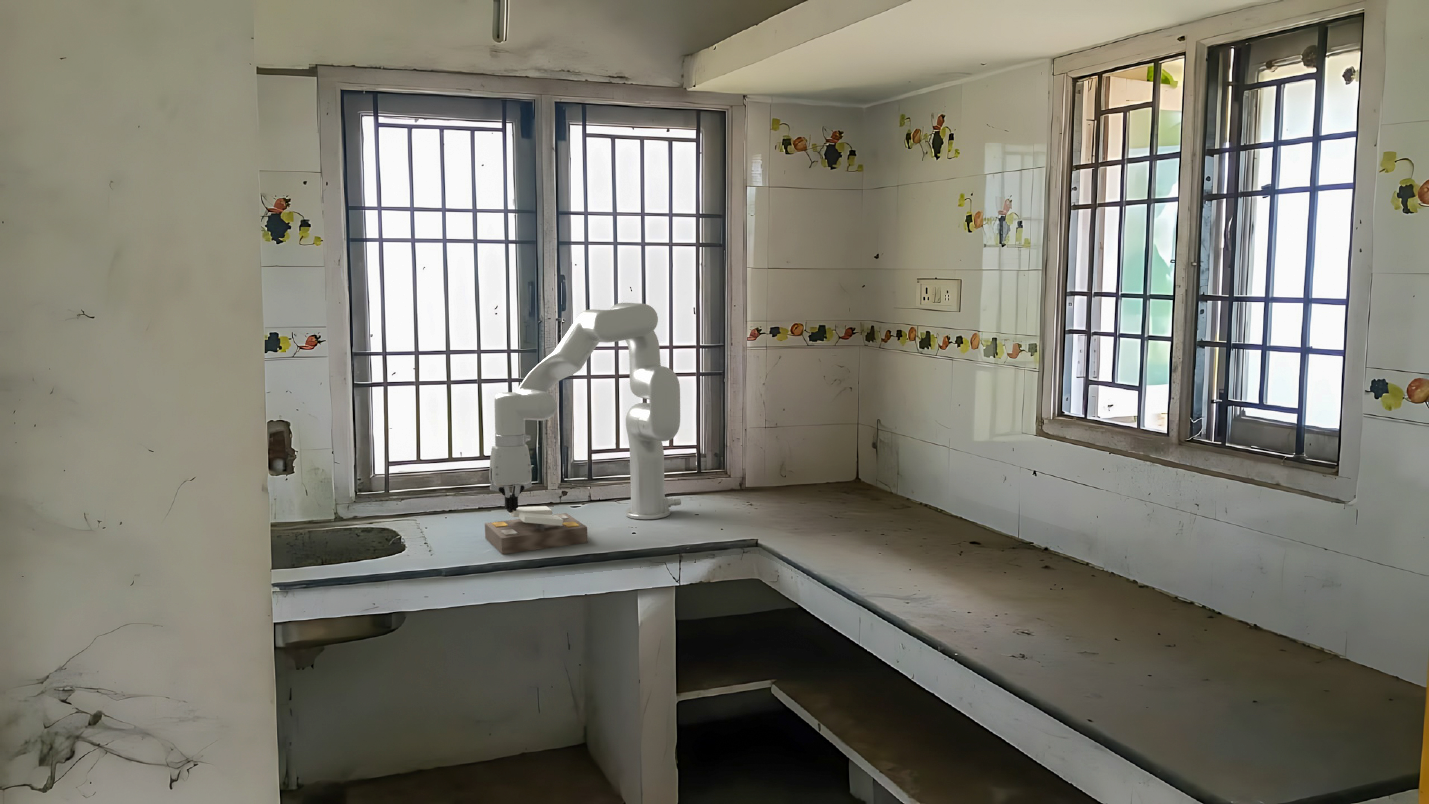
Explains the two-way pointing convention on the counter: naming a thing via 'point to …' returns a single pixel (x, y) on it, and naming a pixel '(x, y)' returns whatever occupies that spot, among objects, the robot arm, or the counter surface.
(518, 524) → the switch unit
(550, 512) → the rocker far
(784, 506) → the counter surface
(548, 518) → the rocker near
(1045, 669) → the counter surface
